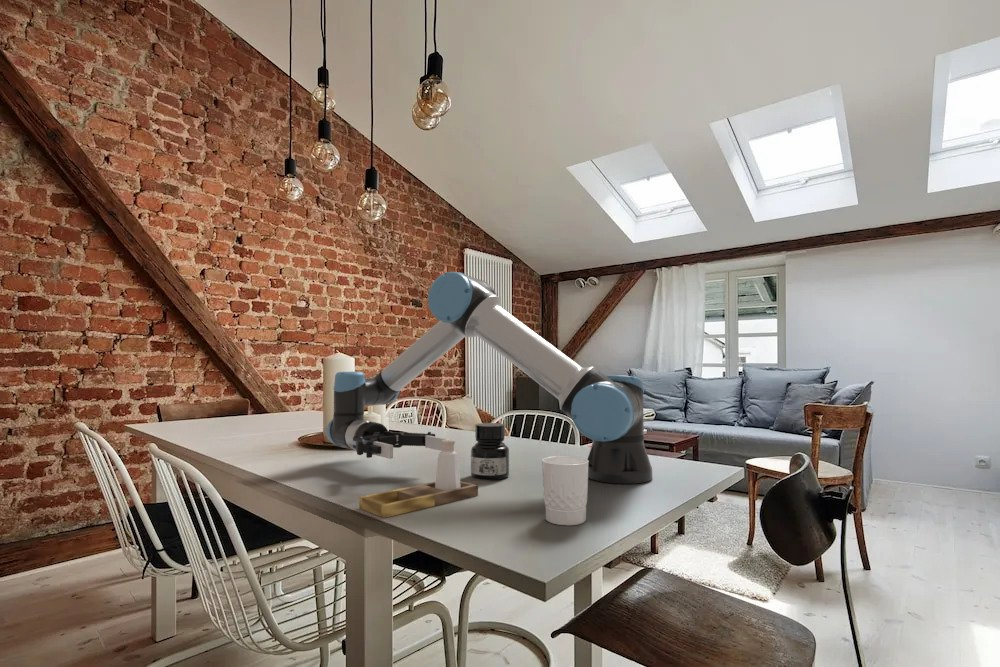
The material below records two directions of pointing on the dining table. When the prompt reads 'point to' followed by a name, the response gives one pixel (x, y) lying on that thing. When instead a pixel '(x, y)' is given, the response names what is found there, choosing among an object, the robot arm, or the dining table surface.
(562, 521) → the white cup
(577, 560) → the dining table surface
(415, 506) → the rail
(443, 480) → the pepper shaker
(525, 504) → the dining table surface
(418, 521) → the dining table surface
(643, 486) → the dining table surface
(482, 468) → the ink bottle
